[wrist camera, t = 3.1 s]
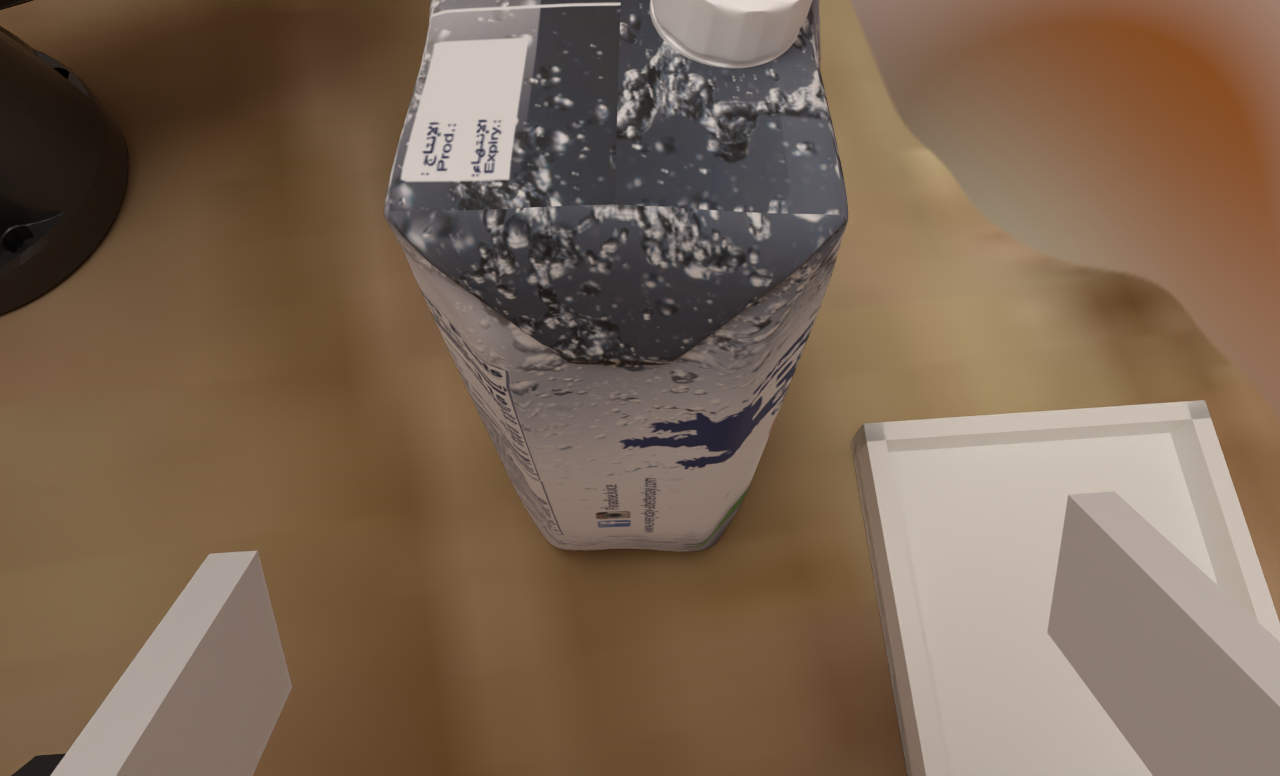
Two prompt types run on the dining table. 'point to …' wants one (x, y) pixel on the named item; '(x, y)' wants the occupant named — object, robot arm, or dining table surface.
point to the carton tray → (1026, 571)
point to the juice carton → (622, 244)
